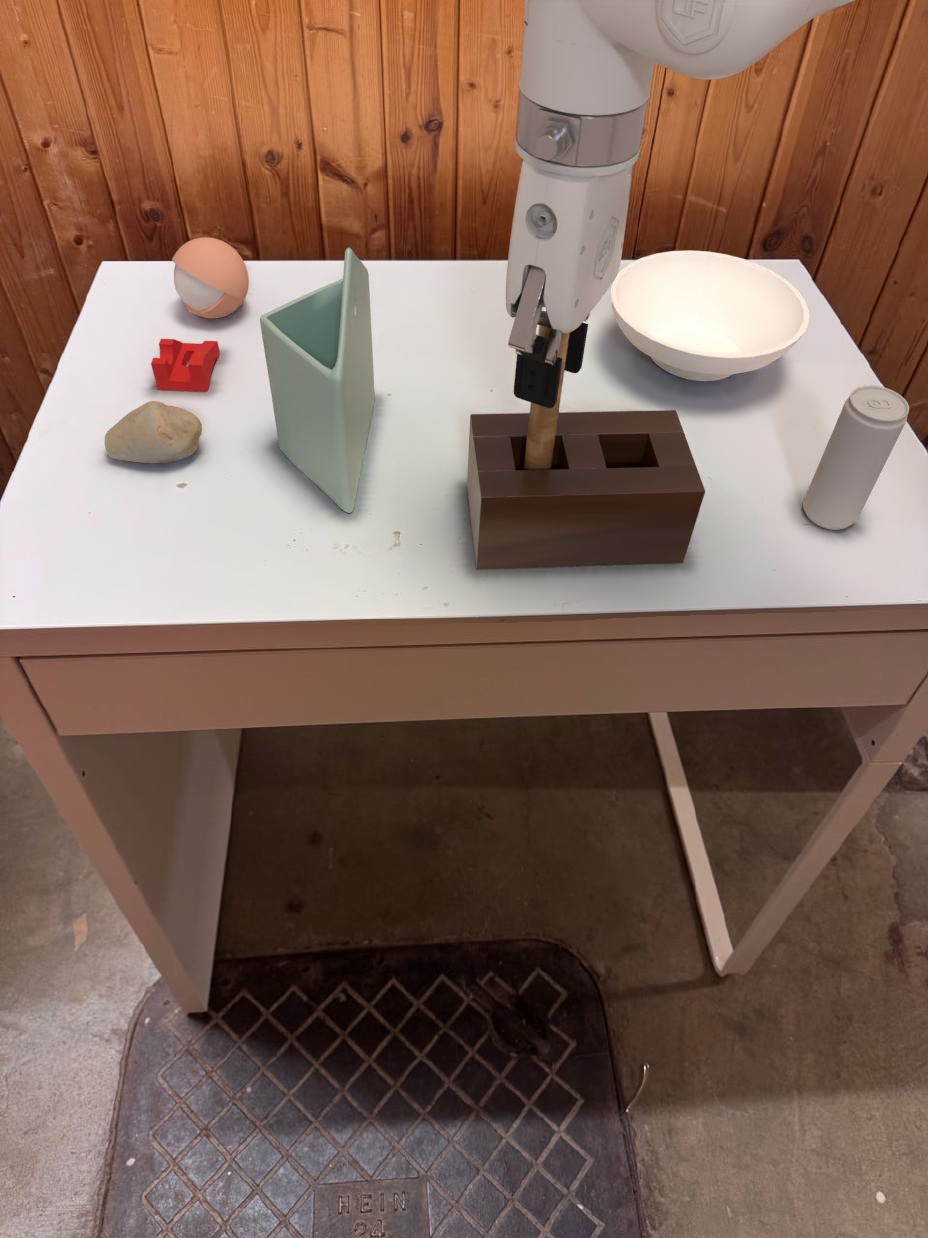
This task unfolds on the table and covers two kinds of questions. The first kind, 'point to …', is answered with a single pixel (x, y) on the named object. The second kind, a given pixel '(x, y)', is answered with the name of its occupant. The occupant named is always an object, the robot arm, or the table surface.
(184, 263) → the toy ball
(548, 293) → the robot arm
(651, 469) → the holder
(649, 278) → the bowl
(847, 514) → the beverage can
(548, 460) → the stirring stick
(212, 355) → the bracket
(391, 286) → the table surface
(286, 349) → the planter
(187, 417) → the stone
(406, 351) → the table surface
